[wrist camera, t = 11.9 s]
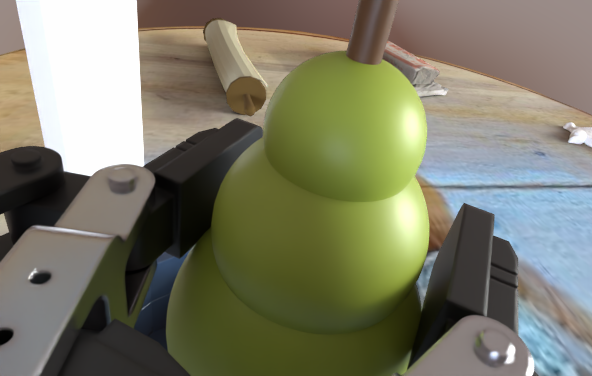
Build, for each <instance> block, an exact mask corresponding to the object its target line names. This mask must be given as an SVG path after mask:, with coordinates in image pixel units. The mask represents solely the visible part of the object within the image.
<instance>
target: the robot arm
mask: <svg viewBox="0 0 592 376" xmlns="http://www.w3.org/2000/svg"><path fill="white" fill-rule="evenodd" d="M262 137H263V130H262V128H261V127H260V126H257V125H254V124H252V123H249V122H246V121H244V120H241V119H238V118H236V119H234V120H232V121H231V122H229V123H228V124H226V125H225V126H223V127H222V128H220V129H217V128H213V129H209V130H205V131H201V132H198V133H196V134H195V135H193V136H191V137H190V138H188V139H186V142H185V141H183V142H182V143H180V144H178V145H177V146H176V148H172V149H170V150H169V151H167V152H165V153H164V154H162V155H161V156H159V157H157V158H156V159H154V160H152V161H151V162H149V163H148V164H146V165H144V166H143V167H141V166H138V165H134V164H115V165H110V166H106V167H104V168H101V169H99V170H98V171H96V172H95V173H94V174H93V175H92V176H88V175H83V174H77V173H72V172H66V171H64V169H63V163H62V158H61V156H60V154H59V153H58V152H56V151H54V150H52V149H50V148H45V147H39V146H27V147H19V148H14V149H11V150H7V151H4V152H1V153H0V214H2V213H4V215H5V219H6V222H7V226H8V229H9V233H6V234H4V235H2V236H0V376H191V375H190V374H189V373H188V372H187V371H186V370H185V369H184V368H183V367H182V366H181V365H180V364H179V363H178V362H177V361H176V360H175V359H174V358H173V357H172V356H171V355H170V354H169V353H168V352H167V351H166V350H165V349H164V348H163V346H162V345H161V344H160V343H159V342H157V341H155V340H153V339H151V338H150V337H148V336H146V335H144V334H142V333H141V332H139V331H137V330H135V329H134V326H135V324H136V321H137V318H138V316H139V313H140V311H141V308H142V306H143V303H144V300H145V298H146V295H147V293H148V290H149V287H150V285H151V282H152V280H153V277H154V274H155V272H156V269H157V258H158V257H159V256H160V255H162V254H163V253H164V252H166V253H168V254H170V255H172V256H174V257H176V258H178V259H181V258H182V257H183V256H184V255H185V254H186V253H187V252H188V251H189V250H190V249H191V248H192V247H193V246H194V245H195V244H196V243H197V242H198V240H199V239H200V238H201V237H202V236H203V234H204V233H205V232H206V231H207V230H208V229H209V228H211V222H212V215H213V208H214V203H215V200H216V197H217V194H218V191H219V188H220V185H221V183H222V181H223V179H224V178H225V176H226V174H227V172H228V171H229V169H230V168H231V166H232V165H233V164H234V162H235V161H236V160H237V158H238V157H239V156H240V155H241V154H242V153H243V152H244V151H245V150H246V149H247V148H249V147H250V146H251V145H252V144H253V143H255V142H256V141H257V140H259V139H260V138H262ZM493 229H494V214H492V213H489V212H487V211H484V210H481V209H478V208H476V207H473V206H470V205H468V204H465V203H464V204H463V205H462V207H461V209H460V210H459V212H458V214H457V216H456V218H455V220H454V222H453V224H452V226H451V228H450V230H449V233H448V235H447V237H446V239H445V241H444V243H443V245H442V247H441V249H440V251H439V253H438V255H437V258H436V260H435V263H434V266H433V269H432V272H431V276H430V280H429V284H428V288H427V292H426V296H425V300H424V304H423V308H422V312H421V318H420V323H419V327H418V331H417V335H416V338H415V341H414V344H413V347H412V351H411V355H410V359H409V363H408V367H407V371H406V372H405V373H403V374H402V375H400V374H399V373H398V372H397V373H394V374H392V375H391V376H538V375H537V374H536V372H535V371H534V362H533V359H532V356H531V353H530V351H529V349H528V348H527V346H526V344H525V343H524V342H523V341H522V339H521V338H520V337H519V336H518V289H517V287H518V276H517V275H518V257H517V255H516V254H515V252H514V250H513V248H512V246H511V244H510V243H509V241H506V240H503V239H501V238H498V237H496V236H493Z"/></svg>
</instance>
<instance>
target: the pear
mask: <svg viewBox="0 0 592 376" xmlns="http://www.w3.org/2000/svg"><path fill="white" fill-rule="evenodd" d="M398 2H399V0H359V3H358V7H357V11H356V15H355V19H354V23H353V28H352V32H351V36H350V40H349V44H348V48H347V51H336V52H330V53H325V54H322V55H319V56H316V57H313V58H311V59H310V60H308V61H306V62H304V63H302V64H301V65H299V66H298V67H297V68H295V69H294V70H293V71H291V72H290V73H289V74H288V75H287V76H286V77H285V78H284V79H283V81H282V82H281V83H280V85H279V86H278V87H277V89H276V90H275V92H274V94H273V96H272V98H271V99H270V102H269V105H268V107H267V111H266V114H265V119H264V125H263V137H262V138H260V139H259V140H257V141H256V142H255V143H253V144H252V145H251V146H250V147H249V148H247V149H246V150H245V151H244V152H243V153H242V154H241V155H240V156H239V157H238V158H237V160H236V161H235V162H234V164H233V165H232V166H231V168H230V169H229V171H228V172H227V174H226V176H225V178H224V179H223V181H222V183H221V185H220V188H219V191H218V194H217V197H216V200H215V203H214V208H213V215H212V222H211V228H209V229H208V230H207V231H206V232H205V233H204V234H203V236H202V237H201V238H200V239H199V240H198V242H197V243H196V244H195V245H194V246H193V248H192V249H191V250H190V252H189V253H188V255H187V257H186V259H185V260H184V262H183V264H182V266H181V267H180V269H179V271H178V274H177V276H176V279H175V282H174V284H173V288H172V291H171V294H170V299H169V303H168V309H167V319H166V339H167V348H168V353H169V354H170V355H171V356H172V357H173V358H174V359H175V360H176V361H177V362H178V363H179V364H180V365H181V366H182V367H183V368H184V369H185V370H186V371H187V372H188V373H189V374H190V375H191V376H391V375H392V374H394V373H397V372H398V373H399V374H400V375H402V374H403V373H405V372H406V371H407V367H408V363H409V359H410V355H411V351H412V347H413V344H414V341H415V338H416V335H417V331H418V327H419V323H420V318H421V312H422V306H421V301H420V296H419V292H418V288H417V285H416V281H417V280H418V278H419V276H420V273H421V271H422V268H423V265H424V262H425V259H426V255H427V249H428V242H429V219H428V212H427V206H426V203H425V200H424V197H423V194H422V191H421V188H420V185H419V184H418V182H417V180H416V178H415V174H416V172H417V170H418V168H419V166H420V164H421V162H422V158H423V155H424V152H425V146H426V140H427V124H426V117H425V112H424V108H423V105H422V102H421V100H420V98H419V96H418V94H417V92H416V90H415V88H414V87H413V86H412V84H411V83H410V81H409V80H408V79H407V78H406V77H405V76H404V75H403V74H402V73H401V72H400V71H399V70H398V69H397V68H395V67H394V66H393V65H391V64H390V63H388V62H387V61H385V60H383V59H382V58H383V54H384V51H385V47H386V44H387V40H388V37H389V33H390V30H391V26H392V23H393V19H394V16H395V13H396V9H397V5H398Z"/></svg>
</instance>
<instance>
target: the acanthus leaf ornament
mask: <svg viewBox="0 0 592 376" xmlns="http://www.w3.org/2000/svg"><path fill="white" fill-rule="evenodd" d="M563 128H564V129H566V130H568V131H570V132H571V134H570V136H569V137H570V139H569V140H568V142H569V143H575V144H582V143H583V142H584V143H585V144H586V145H588V146H590V147H592V127H577V126H575V125H574V124H573V123H571V122H569V123H566V124H565V125H564V126H563Z"/></svg>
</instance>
